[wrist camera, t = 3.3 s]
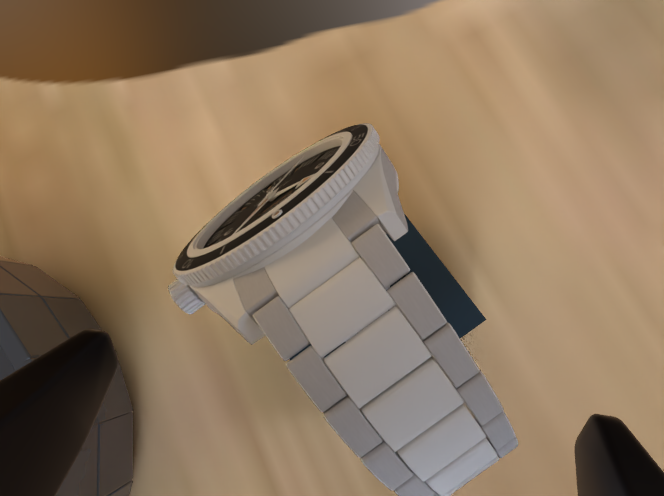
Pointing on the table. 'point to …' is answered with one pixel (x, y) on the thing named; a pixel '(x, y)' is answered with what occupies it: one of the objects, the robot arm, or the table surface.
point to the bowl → (43, 335)
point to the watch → (354, 312)
